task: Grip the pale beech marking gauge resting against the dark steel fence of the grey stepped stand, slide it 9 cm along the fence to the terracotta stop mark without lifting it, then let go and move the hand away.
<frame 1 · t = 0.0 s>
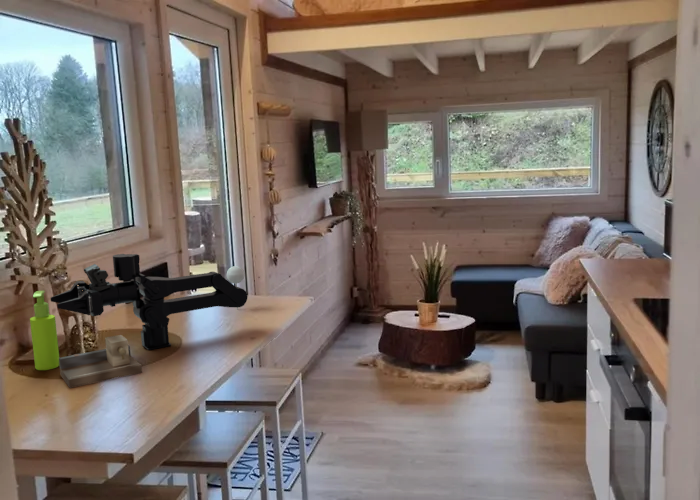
hand: (54, 302, 172), 17 cm above the table, tool horizontal, fingers open, 9 cm apart
soap dispenser: (47, 367, 173), on the table
lollipop: (237, 310, 226), on the table
grey stepped stand: (101, 373, 166), on the table
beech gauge: (118, 361, 169), point 2 cm above the table, touching grey stepped stand
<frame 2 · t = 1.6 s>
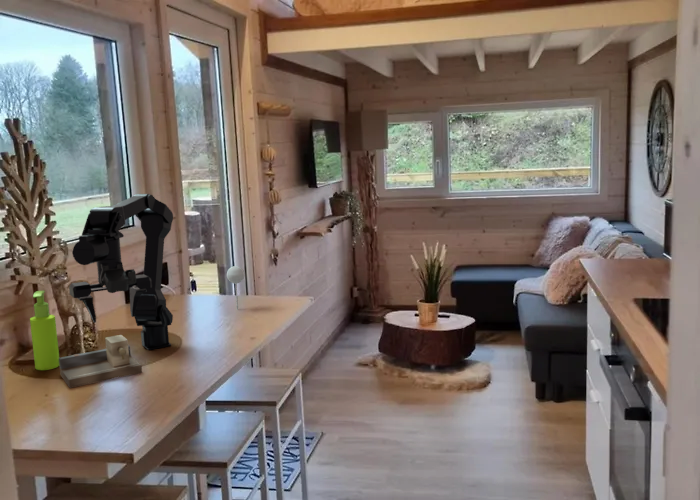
hand: (114, 319, 167), 13 cm above the table, tool pointing down, fingers open, 9 cm apart
nothing on the table moved.
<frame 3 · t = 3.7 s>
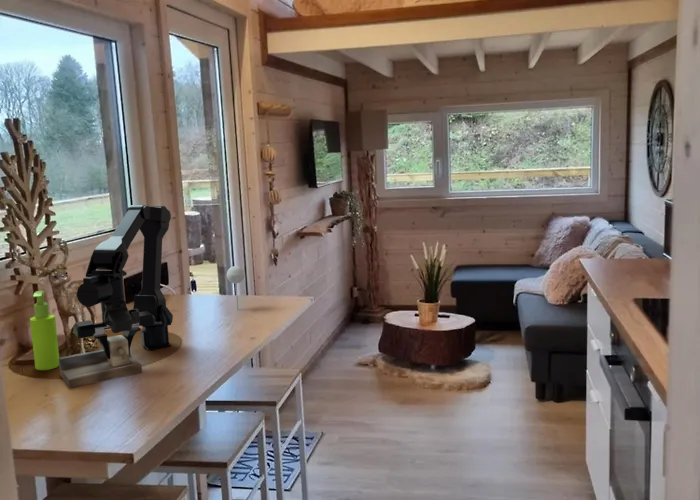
hand: (117, 357, 169), 3 cm above the table, tool pointing down, fingers closed on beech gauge, 4 cm apart
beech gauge: (118, 361, 169), point 2 cm above the table, touching gripper, grey stepped stand
everything else where it was.
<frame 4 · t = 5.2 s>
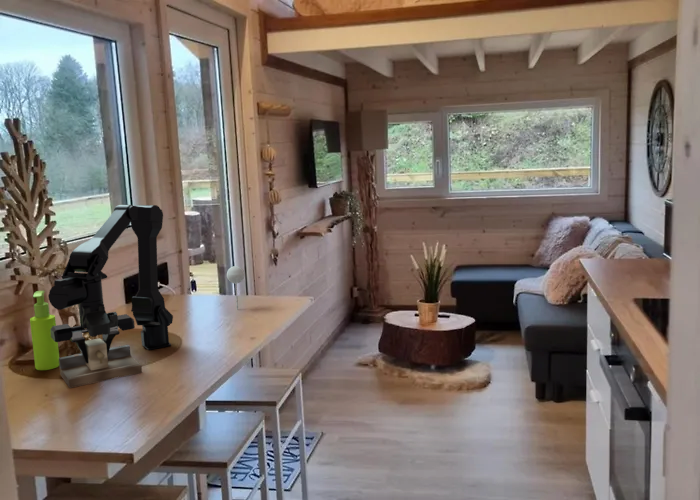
hand: (96, 361, 166), 3 cm above the table, tool pointing down, fingers closed on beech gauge, 4 cm apart
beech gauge: (96, 365, 166), point 2 cm above the table, touching gripper
everything else where it was.
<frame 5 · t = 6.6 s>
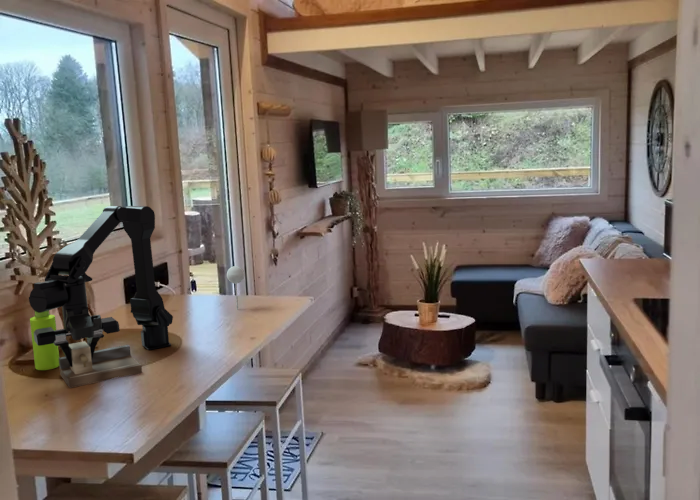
hand: (80, 364, 164), 3 cm above the table, tool pointing down, fingers closed on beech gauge, 4 cm apart
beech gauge: (81, 369, 164), point 2 cm above the table, touching gripper, grey stepped stand
everything else where it was.
when the fingers open (3 cm above the table, at t = 7.1 s): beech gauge stays where it is, resting on grey stepped stand.
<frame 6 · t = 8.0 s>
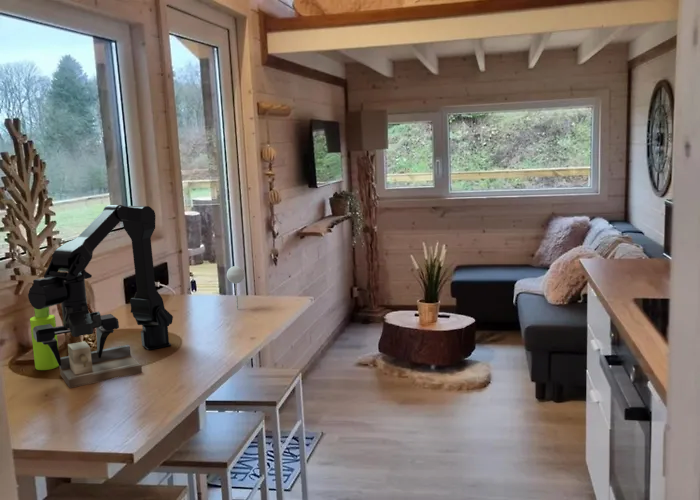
hand: (80, 361, 164), 4 cm above the table, tool pointing down, fingers open, 9 cm apart
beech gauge: (81, 369, 164), point 2 cm above the table, touching grey stepped stand
everything else where it was.
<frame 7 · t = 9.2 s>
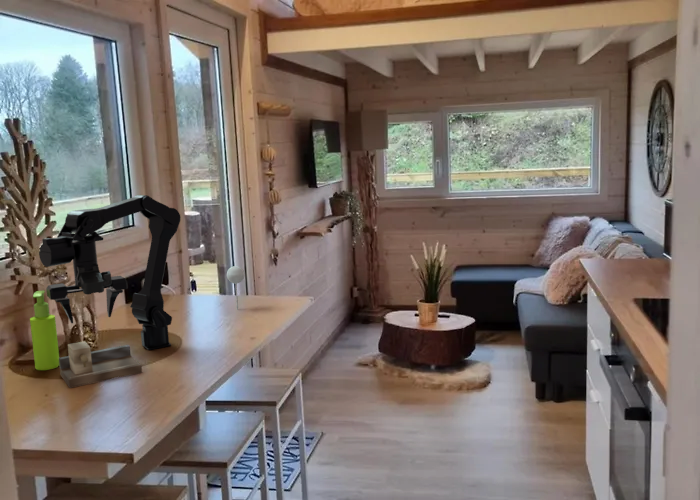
hand: (91, 320, 171), 12 cm above the table, tool pointing down, fingers open, 9 cm apart
nothing on the table moved.
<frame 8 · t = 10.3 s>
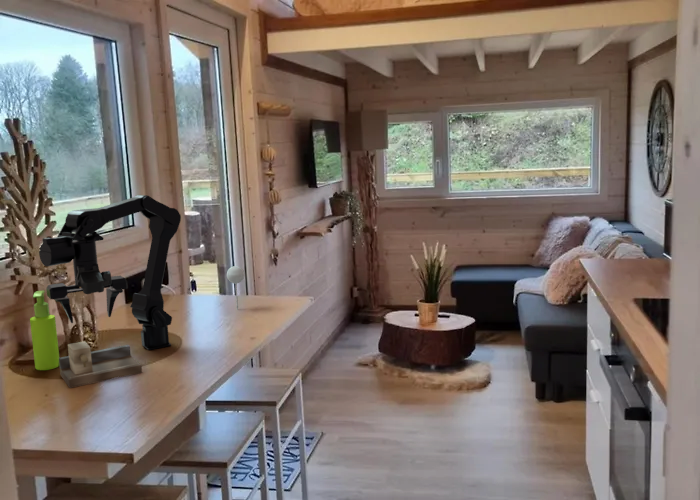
hand: (90, 319, 171), 12 cm above the table, tool pointing down, fingers open, 9 cm apart
nothing on the table moved.
at the end: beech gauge 0.4 cm from the target spot, point 2.0 cm above the table; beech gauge tilted 0°; the gripper is holding nothing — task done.
